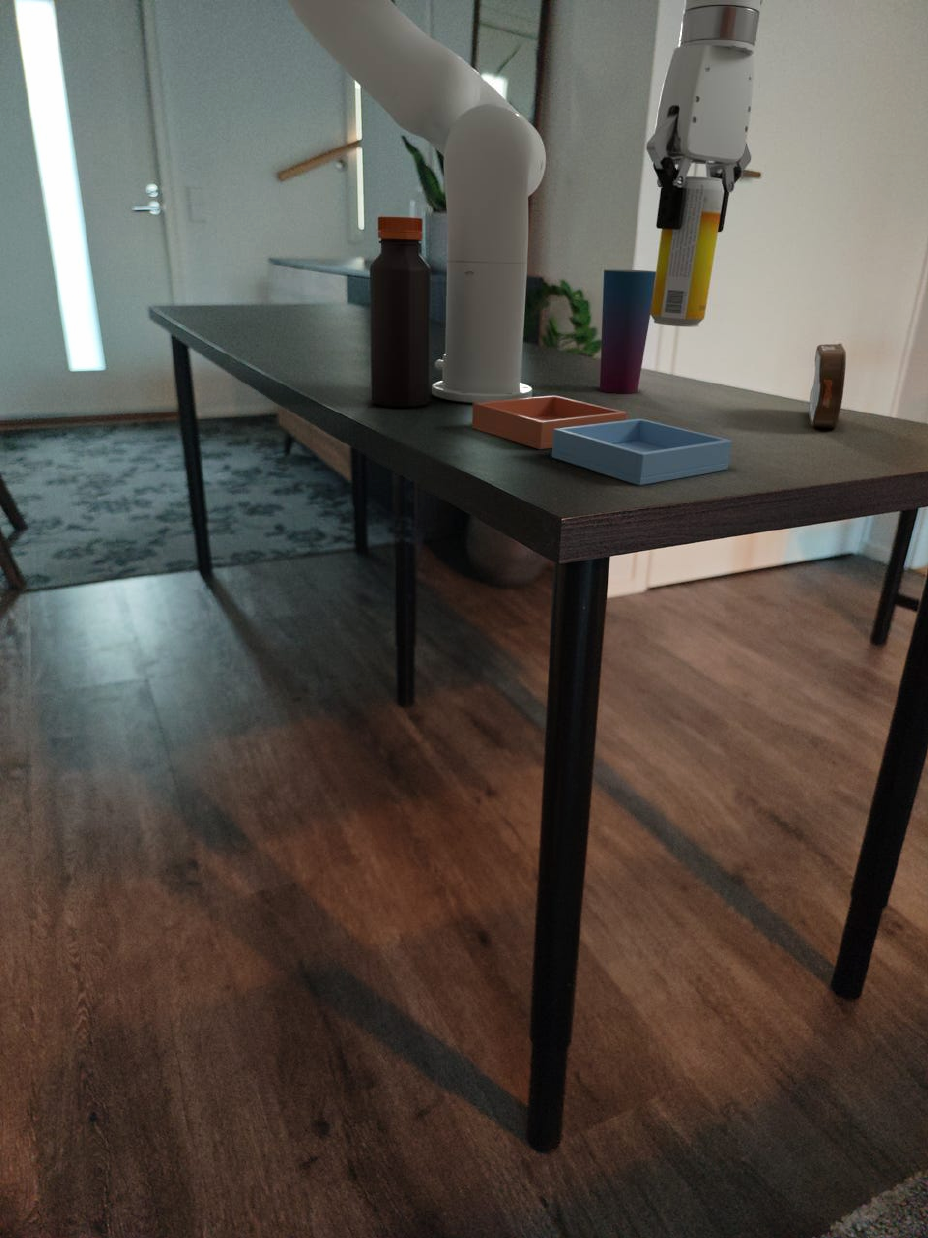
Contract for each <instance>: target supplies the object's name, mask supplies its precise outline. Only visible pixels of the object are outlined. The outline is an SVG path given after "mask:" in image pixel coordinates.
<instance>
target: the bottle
mask: <svg viewBox="0 0 928 1238" xmlns="http://www.w3.org/2000/svg"><path fill="white" fill-rule="evenodd" d="M423 221H424V220H423V218H422V217H413V216H412V217H409V216H378V217H377V239H380V240H378V241H377V243H378V244H380V253H379V254H378V256H377V257H376V258H375V259H374V260H373V262H371V264H370V266H369V300H370V301H369V313H370V315H369V318H370V375H371V376H370V380H371V382H370V385H371V387H370V388H371V390H370V391H371V401H372V403H373V404H374V405H375V406H379V407H385V408H391V409H392V408H393V409H412V408H413V409H414V408H421V407H424V406H426V405H427V404H428V403H429V401H430V356H431V355H430V353H431V352H430V351H431V350H430V349H431V348H430V347H431V279H432V278H431V276H432V275H431V274H432V273H431V272H432V271H431V270H432V269H431V267H430V265H429V264H428V263H427V261H426V260H425V259H424V258H423V256H422V255H421V253H420V247H421V246H420V245H423V242H421V241H420V240H423V237H424V236H423V231H424V230H423V227H424V225H423V224H424V223H423Z"/></svg>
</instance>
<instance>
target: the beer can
mask: <svg viewBox="0 0 928 1238" xmlns="http://www.w3.org/2000/svg"><path fill="white" fill-rule="evenodd" d="M681 188H687V194H686V201H685V208H684V215H683V222H682V227H681V228H680V229H678V230H677V229H661V231H660V240H659V247H658V254H657V262H656V269H655V271H656V276H655V283H654V291H653V299H652V306H651V314H650V317H651V318H652V319H653V323H654V324H656V325H657V324H658V325H664V326H673V327H698V326H699V324H700V323H701V322H702V321H704V319H705V317H706V316H705V315H706V309H707V303H708V298H709V297H708V296H709V290H710V284H711V278H712V272H713V266H714V265H713V264H714V260H715V259H714V258H715V253H716V246H717V239H718V235H719V234H718V233H719V232H718V228H719V222H720V215H721V209H722V203H723V196H724V188H723V184H722V179H720V178H712V177H707V176H697V175H696V176H693V175H691V176H690V175H687V176H686V179H685V181H684V184H683V186H682V187H681Z"/></svg>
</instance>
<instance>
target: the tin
mask: <svg viewBox="0 0 928 1238" xmlns="http://www.w3.org/2000/svg"><path fill="white" fill-rule="evenodd" d="M846 354H847V353H846V350H845V347H844V346H843V345H842V343H840V342H839V343H838V344H837V343H836V344H835V343H834V344H829V343H828V344H826V343H825V344H819V345H817V346H816V350H815V356H814V376H813V382H812V386H811V389H810V394H809V395H810V397H809V408H808V409H809V410H808V411H809V421H810V425H811V427H813V428H818V429H819V428H820V429H833V430H836V429H837V428H838V424H839V420H840V419H839V418H840V414H841V408H842V402H843V395H844V386H845V377H846V376H845V375H846V367H847V366H846V363H847V362H846V361H847V355H846Z"/></svg>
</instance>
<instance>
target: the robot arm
mask: <svg viewBox="0 0 928 1238" xmlns="http://www.w3.org/2000/svg"><path fill="white" fill-rule="evenodd" d="M286 2H287V4H288V6H289V8H290V9H291V11H292V12H293V14H294V15H295V18H297V20H298V21H299V22H300V24H301V25H302V26H303V27H304V29H305V30H306V31H307V32H308V34H309V35H310V36H311V37H312V38H313V40H315V42H317V43H318V44H319V45H320V47H321V48H322V49H323V50H324V51H325V52H326V53H327V54H329V55H330V57H331V58H332V59H333V60H335V62H336V63H338V65H339V66H340V67H341V68H342V69H343V70H344V71H345V72H346V74H348V75H349V76H350V77H351V78H352V79H353V80H354V81H355V83H356V84H358V85H359V86H360V87H361V88H362V89H363V90H364V91H365V92H366V93H367V94H368V95H369V96H370V97H371V98H372V99H373V100H374V101H375V102H376V103H377V104H378V105H380V107H381V108H382V109H383V110H384V111H385V112H386V113H387V114H388V115H389V117H390V118H392V120H393V121H394V122H395V123H396V124H397V125H398V126H399V127H400V128H401V129H403V130H405V131H406V132H408V133H410V134H411V135H415V136H417V137H420V138H422V139H424V140H425V141H426V142H428V144H430V145H431V146H432V147H433V148H434V149H435V150H436V151H438V153H440V154H441V155H442V156H443V181H444V190H445V191H444V192H445V194H444V195H445V205H446V206H445V207H446V291H445V292H446V295H445V297H446V299H445V341H444V343H445V345H444V346H445V347H444V348H445V349H444V354H442V359H436V360H435V362H434V368H435V370H437V371H440V372H442V375H441V376H442V377H441V378H442V380H440V381H437V382H435V383H433V384H432V386H431V394H432V395H433V396H434V397H436V398H439V399H442V400H448V401H452V402H459V403H468V404H473V403H479V402H489V401H500V400H510V399H521V398H532V397H533V388H532V386H529V385H528V384H525V383H521V381H522V380H521V379H522V378H521V377H522V360H523V345H524V343H523V340H524V325H525V323H524V322H525V308H526V307H525V306H526V289H527V274H528V273H527V272H528V249H529V248H528V247H529V197H530V196H531V195H532V194H533V193H534V192H535V191H536V190H537V189H538V187H539V186H540V184H541V182H542V180H543V178H544V175H545V172H546V166H547V155H546V149H545V148H546V147H545V144H544V141H543V139H542V137H541V135H540V134H539V132H538V129H536V128H535V126H534V125H532V123H531V122H529V121H528V119H526V118H525V117H524V116H523V115H522V114H521V113H520V112H519V111H518V110H517V109H516V108H515V107H514V106H512V105H511V103H510V102H509V101H507V100H506V98H504V97H503V96H502V95H501V94H500V93H499V91H497V90H496V89H495V88H494V87H493V86H492V85H491V84H490V83H489V82H488V81H487V80H486V79H485V78H484V77H483V76H481V74H480V73H479V72H477V70H475V69H474V68H473V67H472V66H471V64H470V63H468V62H467V61H466V60H464V59H463V58H462V57H461V56H460V55H459V54H457V53H455V52H454V51H452V49H450V48H448V47H447V46H445V45H444V44H442V43H441V42H439V41H438V40H435V39H433V38H432V37H431V36H430V35H429V34H427V33H425V32H424V31H423V29H421V28H420V27H419V26H417V24H415V23H414V22H413V21H412V20H411V19H410V18H409V17H408V16H406V14H405V13H403V12H402V11H401V9H399V8H398V7H397V5H395V3H394V2H393V1H392V0H286ZM762 2H763V0H684V4H683V5H684V6H683V13H682V21H681V29H680V35H679V44H678V47H675V48H674V49H673V51H672V54H671V56H670V59H669V63H668V65H667V70H666V73H665V77H664V81H663V84H662V85H663V86H662V88H661V89H662V90H661V94H660V97H659V98H660V99H659V102H658V103H659V105H658V109H657V116H656V121H655V128H654V133H653V135H652V136H651V137H650V139H649V140H648V141H647V142H646V147H645V149H646V151H647V154H648V155H649V158H650V160H651V162H652V167H653V170H654V173H655V174H656V176H657V180H656V184H657V187H658V188H660V192H659V201H658V209H657V215H656V223H655V224H656V225H655V227H656V229H658V230H662V229H677V230H678V229H680V228H681V227H682V222H683V215H684V208H685V201H686V194H687V188H681V187H682V186H683V184H684V181H685V179H686V176H688V174H689V171H690V168H691V166H692V164H694V165H695V164H696V165H705V172H706V177H712V178H720V179H722V184H723V188H724V196H723V203H722V209H721V215H720V222H719V228H718V233H722V232H723V231H724V229H725V222H726V216H727V210H728V209H727V208H728V202H729V197H730V194H731V193H732V192H734V189H735V184H736V183H737V181H738V180H739V179H740V178H741V177H742V173H743V172H744V171H745V169H746V168H747V167H748V166H749V165H750V163H751V161H752V154H751V151H750V149H749V145H748V143H747V140H748V134H749V126H750V122H751V121H750V120H751V112H752V105H753V92H754V74H755V73H754V71H755V56H754V51H755V46H756V41H757V34H758V28H759V21H760V14H761V9H762ZM676 166H677V167H676ZM718 170H721V172H720V174H719V175H718V173H719V172H718Z"/></svg>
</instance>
